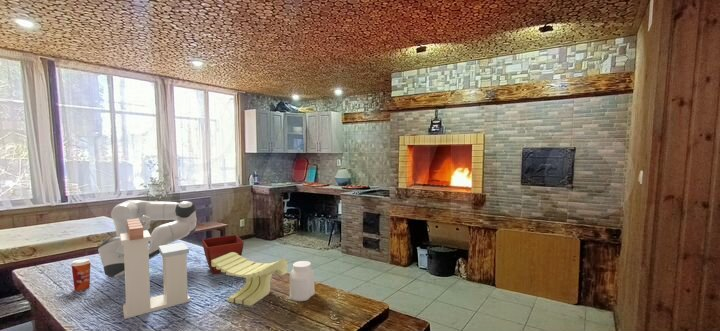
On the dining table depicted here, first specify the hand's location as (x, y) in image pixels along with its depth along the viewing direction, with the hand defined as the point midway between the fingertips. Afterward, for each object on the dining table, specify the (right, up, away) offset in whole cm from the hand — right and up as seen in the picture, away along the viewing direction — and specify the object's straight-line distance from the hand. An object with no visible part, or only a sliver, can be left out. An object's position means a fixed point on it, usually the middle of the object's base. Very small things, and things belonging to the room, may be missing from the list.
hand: (134, 230), depth 148 cm
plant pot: (+27, -30, +35) cm, 53 cm away
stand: (+16, -31, -8) cm, 36 cm away
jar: (+79, -31, 0) cm, 84 cm away
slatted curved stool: (+54, -31, 0) cm, 63 cm away
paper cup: (-33, -31, +10) cm, 46 cm away
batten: (+8, +1, -10) cm, 13 cm away
